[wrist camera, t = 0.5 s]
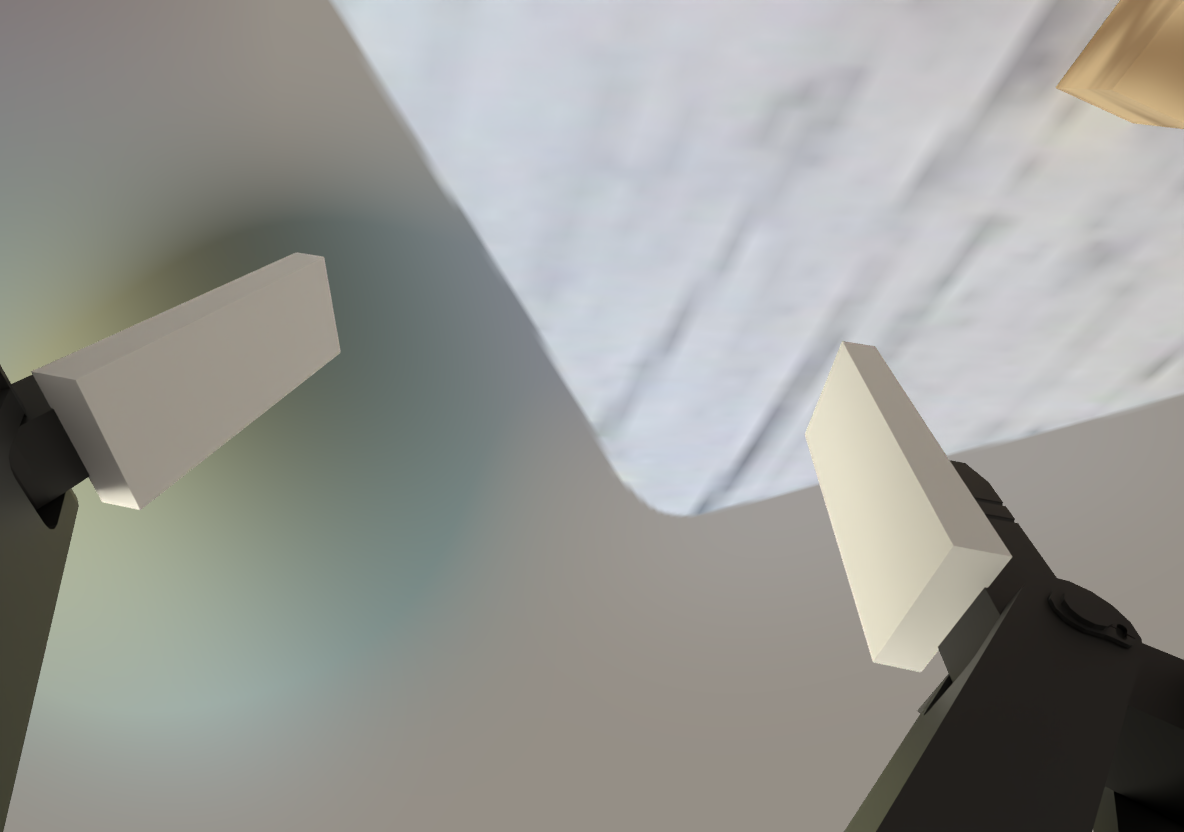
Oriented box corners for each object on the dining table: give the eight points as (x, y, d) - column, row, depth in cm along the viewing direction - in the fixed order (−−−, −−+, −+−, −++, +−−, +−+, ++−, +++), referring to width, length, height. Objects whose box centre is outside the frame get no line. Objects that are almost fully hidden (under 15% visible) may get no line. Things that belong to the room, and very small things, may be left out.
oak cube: (1134, -20, 27) (1212, -37, 23) (1218, 20, 28) (1310, 10, 23) (1054, 87, 30) (1111, 89, 26) (1132, 123, 30) (1200, 130, 26)
